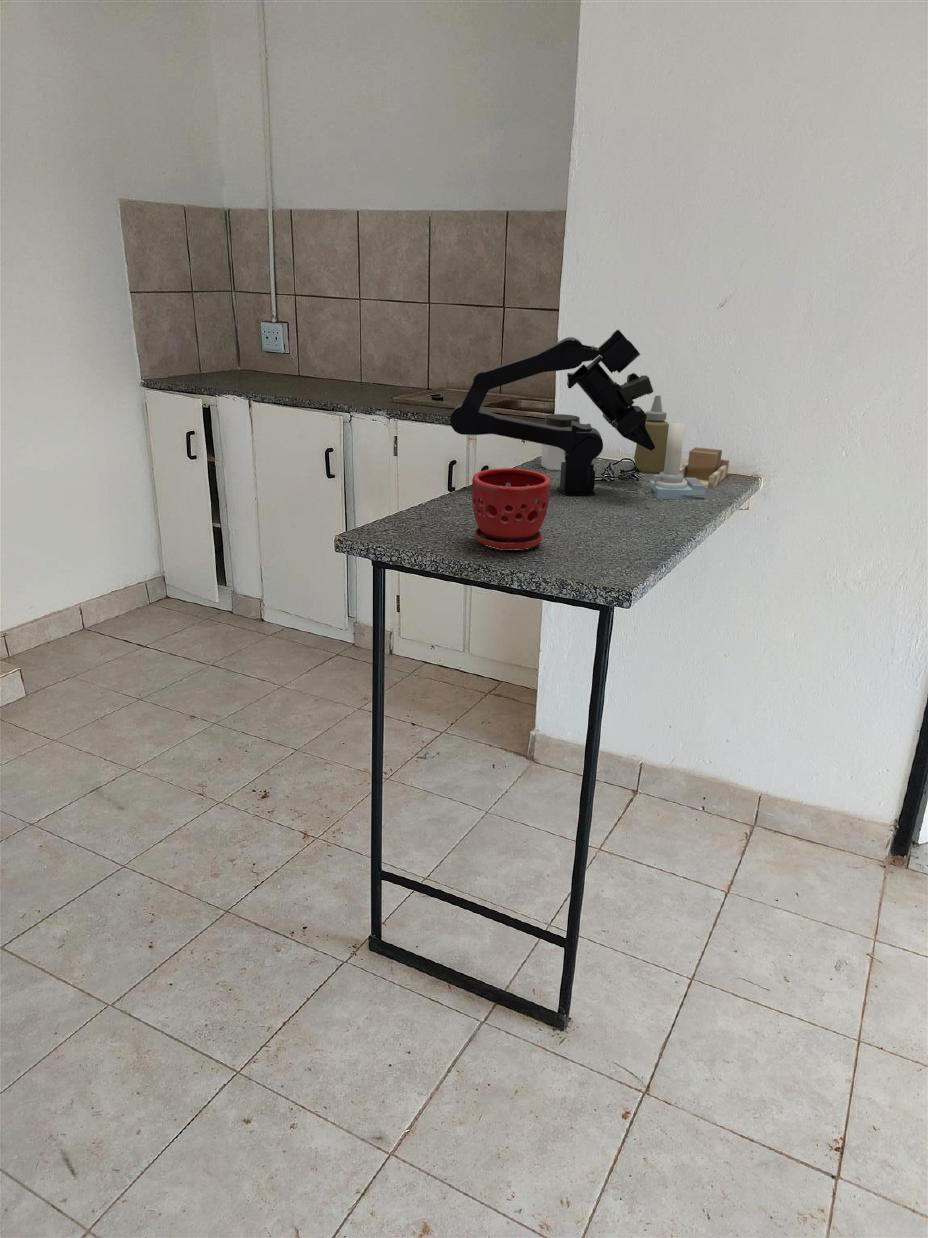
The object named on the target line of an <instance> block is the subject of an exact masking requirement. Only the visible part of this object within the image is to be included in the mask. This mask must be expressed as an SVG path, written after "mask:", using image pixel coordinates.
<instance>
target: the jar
mask: <svg viewBox="0 0 928 1238" xmlns="http://www.w3.org/2000/svg"><path fill="white" fill-rule="evenodd" d="M580 420H581V419H580V416H578V415H574V414H561V413H560V414H558V413H555V414H554V413H553V414H548V415H545V417H544V424H545V425H550V426H555V427H571V422H572V421H576V422H578V423H581V421H580ZM561 462H566V461H565V456H564V450H562V449H560V448H558V447H555V446H550V445H545V444H541V460H540V466H542V468H544V469H546V470H548V471H560V472H561Z"/></svg>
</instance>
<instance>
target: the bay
mask: <svg viewBox="0 0 928 1238" xmlns="http://www.w3.org/2000/svg"><path fill="white" fill-rule="evenodd" d="M729 464H730V460H729V459H722V458H721V462H720V468H719V469H718V470H717V471H715V472H714V473H713V474H712V475H711V476H710V477H709V480H700V479H698V480H699V481H700V482H701V483H702V484H703V485H705V489H708V490H713V489H714V488H715V487H716V486H717V485H719V484H720V483H721V482H722V481H723V480H724V479H725V478H726V477H727V476H728V472H729ZM687 469H688V461H686V462H685V463H683V464H682V465H680V471H679V472H680V473H682V474H683V479H684V480H685V478H686V477H687Z"/></svg>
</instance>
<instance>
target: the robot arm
mask: <svg viewBox="0 0 928 1238" xmlns="http://www.w3.org/2000/svg"><path fill="white" fill-rule="evenodd" d="M640 356H641V353H640V352H639V350H638V349H637V347H635V346H634V344H633V343H632V341H630V340H629V339H627V337H625V335H624V334H623V333H622V332H621V330H620V329H616V330H615V331H614V332H612V334H611V335H610V336H609V337H608V338H607V339H606V340H605V341H604V342H603V343H602V344H601V345H600V346H599V347H596V346H594V345H592V346H591V345H585V344H583V343H582V342H581V341H580V339H578V338H576V337H572V336H570V337H565V338H563V339H561V340H560V341H557V342H556V343H553V344H552V345H550V346H549V347H547V348H545V349H543V350H542V351H540V352H538V353H535V354H532V355H530V356H527V357H523V358H520V359H517V360H514V361H511V362H509V363H506V364H505V363H504V364H502V365H499V366H496V367H493V368H489V369H487V370H480V371H479V372H477V373H476V375H475V376H474V377H473V380H472V381H473V383H472V384H471V386H470V388H469V390H468V392H467V394H466V396H465V397H464V400H463V402H461V403H459V404H458V405H456V407H455V408H454V409H453V411H452V413H451V414H450V418H449V423H450V426H451V428H452V430H453V432H455V433H457V434H458V435H464V436H465V435H467V436H468V435H469V436H480V435H496V436H501V437H506V438H511V439H516V440H522V441H526V442H531V443H534V444H540V445H542V444H545V445H550V446H555V447H558V448H560V449H562V450H564V456H565V461H566V462H561V471H560V475H559V486H556V490H558V491H559V492H561V493H562V494H563V495H565V496H589V495H590V496H593V495H596V494H595V493H596V492H595V491H594V490H595V485H596V484H595V483H596V481H595V480H596V470H595V469H594V468H595V464H594V463H592V462H593V461H594V459H595V458H597V457H599V456H600V454H601V453H602V452H603V448H604V442H603V438H602V436H601V434H600V432H599V430H597V428H594V427H593V426H592V424H591V423H586V424H585V423H581V422H580V423H578V422H576V421H572V422H571V427H555V426H550V425H545V423H540V422H535V421H529V420H525V419H519V418H515V417H510V416H505V415H500V414H496V413H495V412H492V411H490V410H487V409H486V408H484V407H482V405H483V402H484V401H485V398H486V396H487V394H488V392H489V391H490V390H492V389H496V388H498V387H501V386H505V385H508V384H511V383H514V382H516V381H520V380H523V379H527V378H529V377H532V376H535V375H539V374H541V373H547V372H549V373H550V372H558V371H567V370H573V369H576V368H577V370H575V371H574V372H572V373H571V372H570V373H569V372H567V374H566V376H567V382H566V386H567V388H568V389H571V388H573V387H574V386H575V385H576V384H577V385H578V386H579V388H581V390H583V392H584V393H585V395H587V397H588V398H589V399H590V400H591V401H592V403H593V404H594V406H596V407H597V408H598V410H599V411H600V412H601V413H602V417H603V418H604V420H605V421H606V422H607V423H608V424H610V425H611V427H612V428H614V429H615V430H616V431H617V433H619V435H621V436H622V438H624V439H626V440H629V441H631V442H633V443H636V445H637V444H639V445H641V446H643V447H645V448H647V449H649V450H651V451H652V450H653V449H654V448H655V445H654V443H653V442H652V440H651V438H650V436H649V434H648V432H647V430H646V428H645V423H646V420H647V415H646V411H644V410H643V409H642V407H640V406H639V405H633V404H635V401H634V400H636V399H638V398H642V397H643V396H646V395H650V394H652V393H654V389H653V385H652V382H651V380H650V377H649V376H648V375H640V376H638V375H637V373H634V372H633V373H630V374H627V377H626V382H624V383H623V384H618V383H617V382H616V381H614V380H613V379H612V377H611V376H610V375H609V374H608V373H607V372H606V370H605V369H604V368H603V367H602V366H601V365H600V363H602V364H603V365H604V366H605V368H606V369H607V370H608V371H609V373H610V374H612V373H616V372H617V373H618V374H620V373H622V371H623V370H625V369H626V368H627V367H629V365H630V364H632V363H633V361H635V360H636V359H637V358H638V357H640ZM591 361H592V362H591ZM585 362H591V363H589V364H587V366H586V364H585ZM583 363H584V364H583Z"/></svg>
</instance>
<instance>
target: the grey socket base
mask: <svg viewBox="0 0 928 1238" xmlns="http://www.w3.org/2000/svg"><path fill="white" fill-rule="evenodd" d="M649 486H650V488H651V489H652V490H650V492H651V493H652V495H653V497H655V498H656V499H658V500H663V499H664V500H698V501H699V500H700V501H701V500H703V501H704V500H705V497H700V496H706V488H705V485H703V484H702V483H701V482H700V481H699V480H698V479H697V478H685V480H684V479H683V482H682V483H665V482H661V481H654V480H650V481H649Z"/></svg>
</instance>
